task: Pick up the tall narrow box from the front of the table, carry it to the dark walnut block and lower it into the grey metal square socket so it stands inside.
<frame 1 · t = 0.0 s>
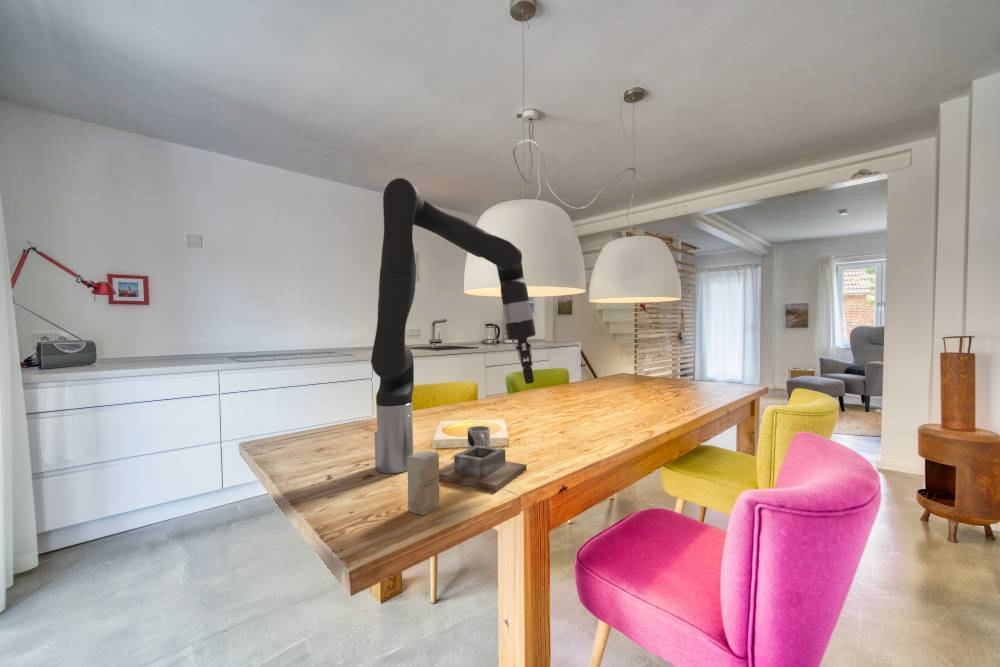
hand: (529, 380, 103), 22 cm above the table, tool pointing down, fingers open, 8 cm apart
socket: (480, 474, 97), on the table
mug: (480, 453, 115), on the table
box: (424, 509, 79), on the table
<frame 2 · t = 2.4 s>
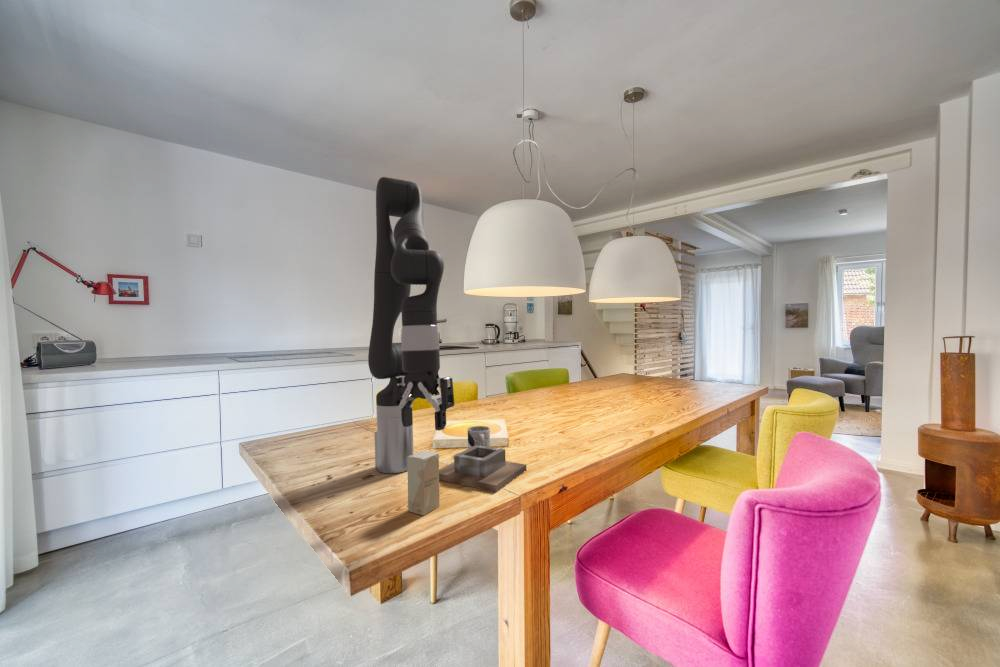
hand: (423, 427, 79), 16 cm above the table, tool pointing down, fingers open, 8 cm apart
nothing on the table moved.
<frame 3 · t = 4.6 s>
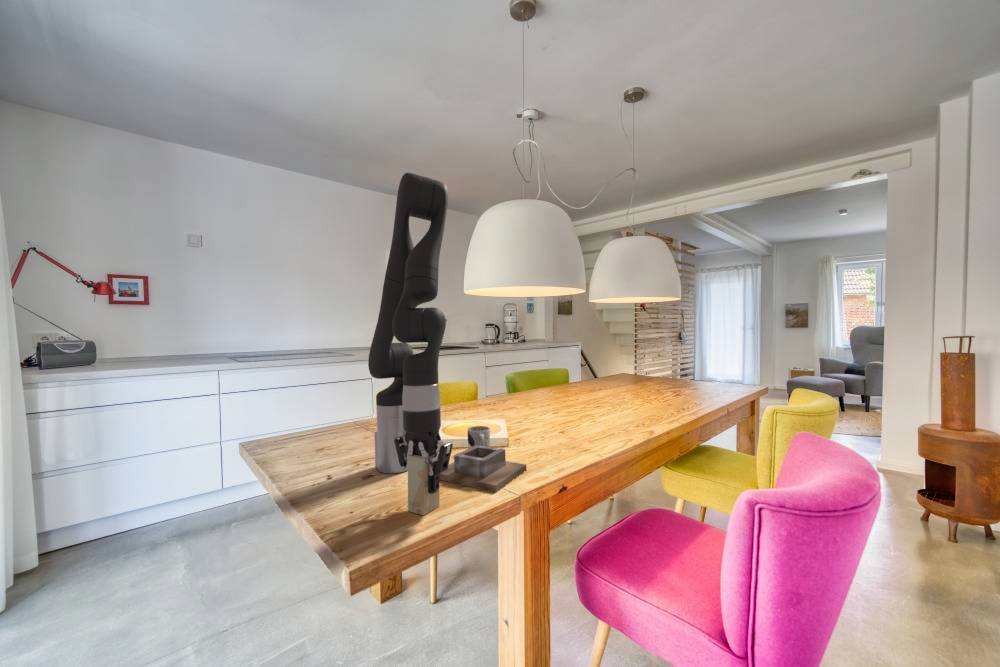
hand: (423, 489, 79), 4 cm above the table, tool pointing down, fingers closed on box, 4 cm apart
box: (424, 509, 79), on the table, touching gripper
everything else where it was.
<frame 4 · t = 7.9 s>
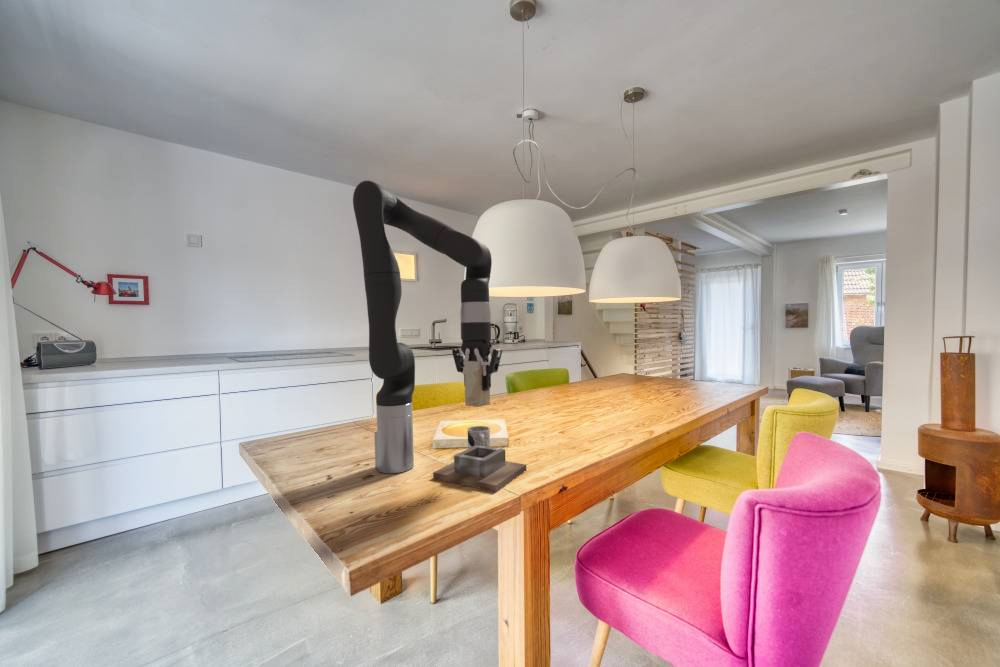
hand: (477, 389, 97), 21 cm above the table, tool pointing down, fingers closed on box, 4 cm apart
box: (478, 405, 97), point 17 cm above the table, touching gripper
everything else where it was.
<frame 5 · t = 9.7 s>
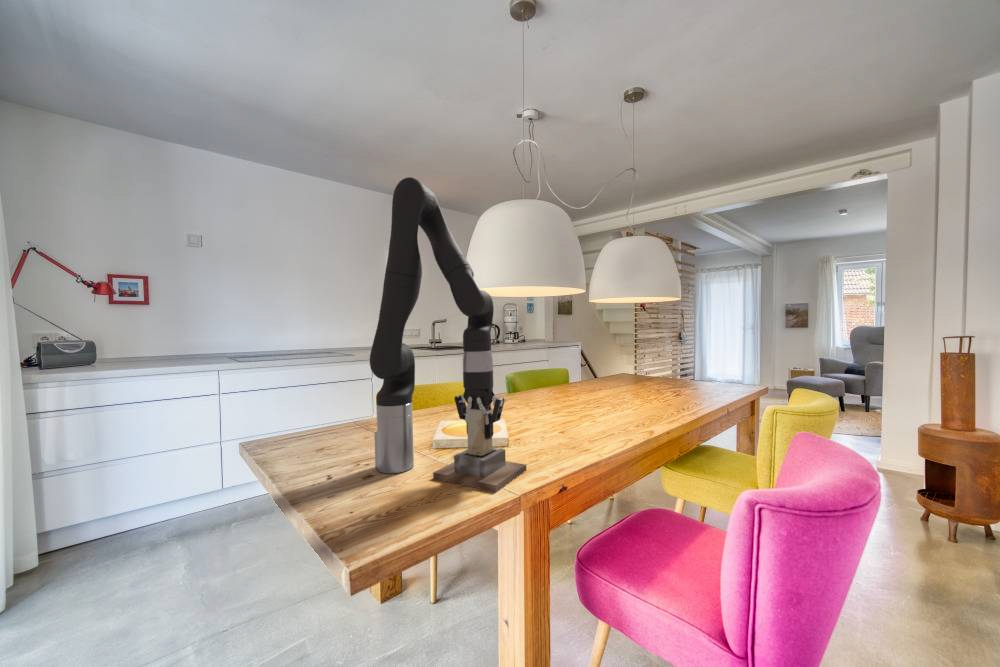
hand: (479, 437, 97), 9 cm above the table, tool pointing down, fingers closed on box, 4 cm apart
box: (480, 453, 97), point 5 cm above the table, touching gripper
everything else where it was.
when the fingers open (7 cm above the table, at t = 11.2 s): box drops 2 cm, resting on socket.
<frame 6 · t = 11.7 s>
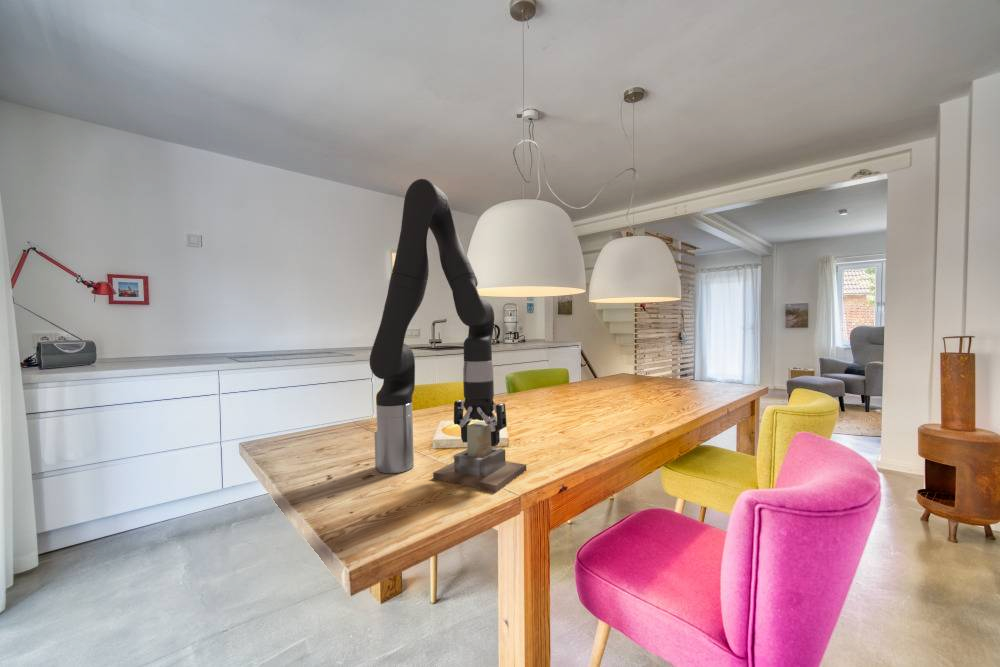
hand: (480, 443, 97), 8 cm above the table, tool pointing down, fingers open, 8 cm apart
box: (480, 469, 97), point 1 cm above the table, touching socket
everything else where it was.
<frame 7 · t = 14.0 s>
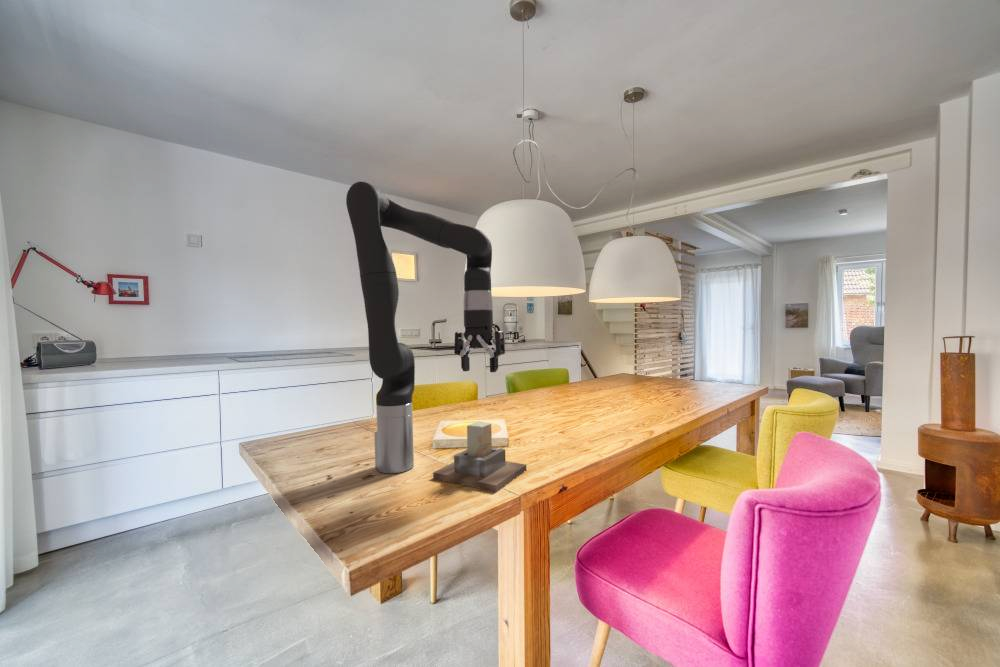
hand: (479, 371, 101), 25 cm above the table, tool pointing down, fingers open, 8 cm apart
nothing on the table moved.
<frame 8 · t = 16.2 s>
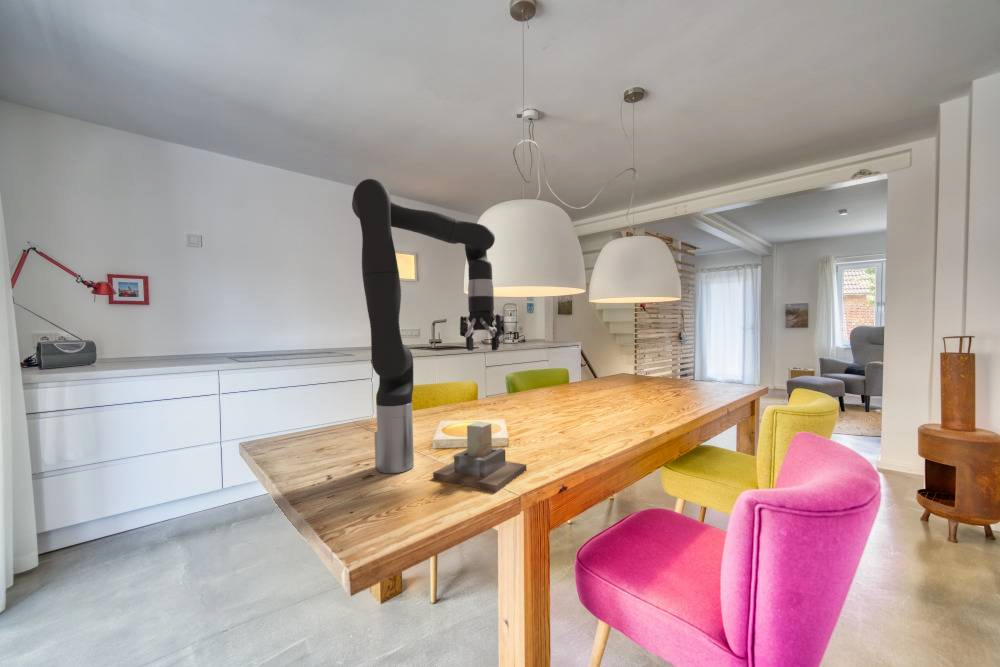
hand: (482, 350, 115), 30 cm above the table, tool pointing down, fingers open, 8 cm apart
nothing on the table moved.
at the end: box 0.2 cm off-centre on the socket, point 1.3 cm above the socket's base; box tilted 0°; the gripper is holding nothing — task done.
